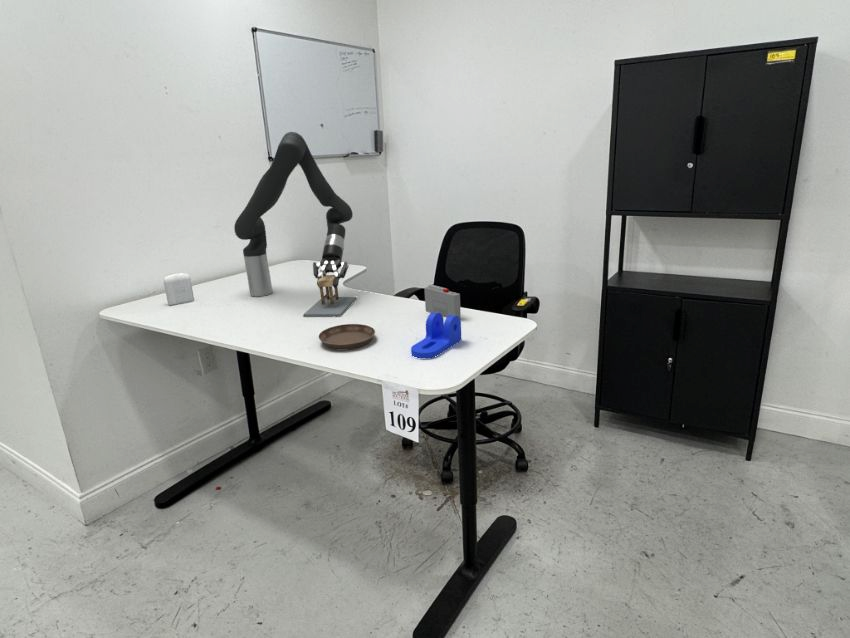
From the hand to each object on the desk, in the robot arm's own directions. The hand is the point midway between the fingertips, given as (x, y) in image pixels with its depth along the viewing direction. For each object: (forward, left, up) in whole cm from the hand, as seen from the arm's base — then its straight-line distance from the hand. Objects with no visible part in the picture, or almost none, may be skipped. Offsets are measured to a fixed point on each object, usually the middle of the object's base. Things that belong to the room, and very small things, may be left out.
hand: (327, 286), depth 197 cm
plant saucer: (+33, +17, -9) cm, 39 cm away
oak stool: (-2, 0, -6) cm, 7 cm away
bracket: (+38, +45, -9) cm, 60 cm away
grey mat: (-2, 0, -9) cm, 9 cm away
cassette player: (+7, +44, -9) cm, 46 cm away
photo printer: (-10, -68, -9) cm, 69 cm away
